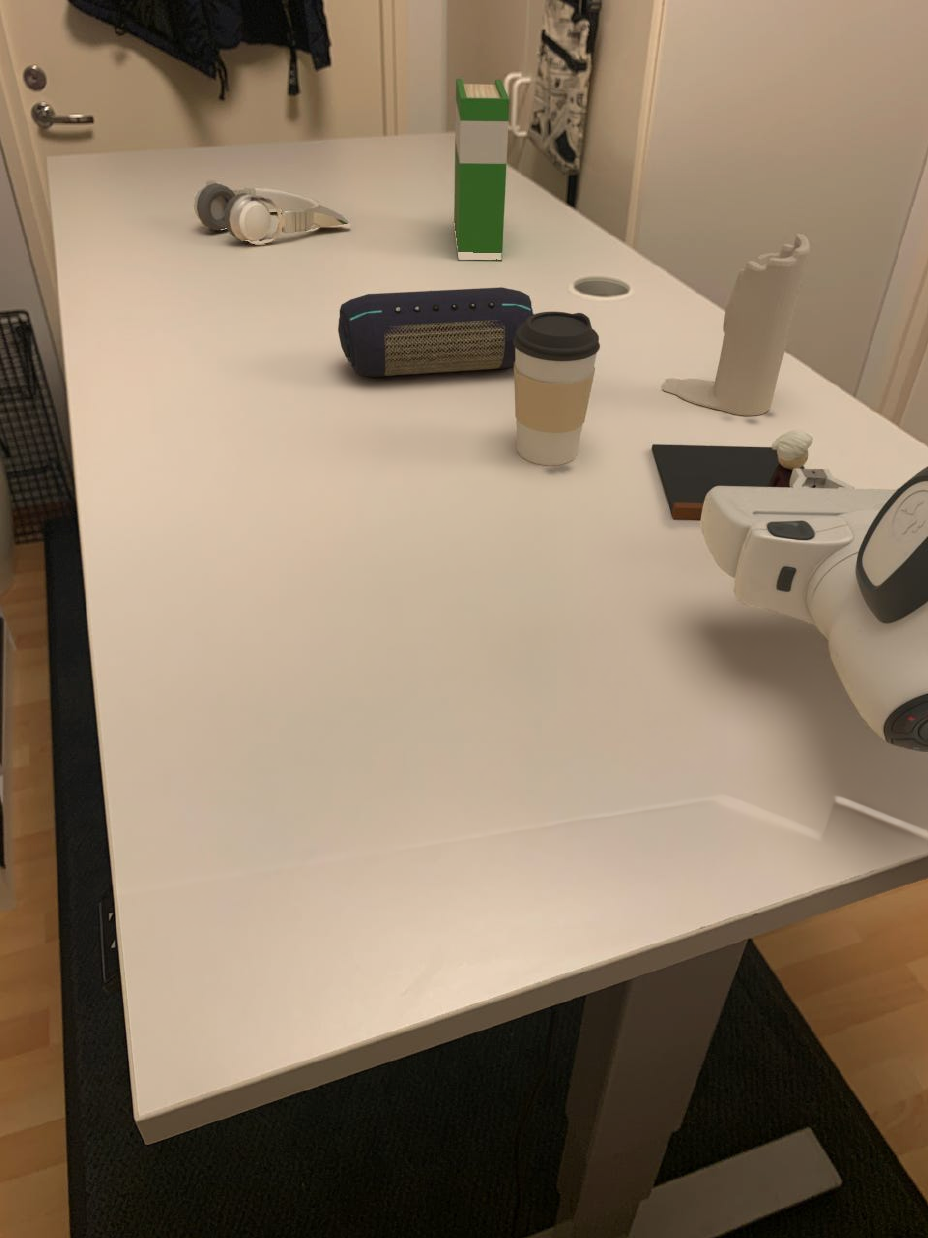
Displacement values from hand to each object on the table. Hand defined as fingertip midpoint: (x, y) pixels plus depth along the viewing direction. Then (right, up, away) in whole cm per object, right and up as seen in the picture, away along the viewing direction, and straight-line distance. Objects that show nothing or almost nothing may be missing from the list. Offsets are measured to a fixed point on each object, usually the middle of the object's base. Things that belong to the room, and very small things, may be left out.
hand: (807, 475), depth 78 cm
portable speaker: (-33, +20, +41) cm, 57 cm away
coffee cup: (-20, +7, +25) cm, 33 cm away
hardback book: (-27, +54, +83) cm, 102 cm away
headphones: (-65, +58, +87) cm, 123 cm away
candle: (+2, +16, +37) cm, 40 cm away
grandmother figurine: (0, -6, +11) cm, 12 cm away
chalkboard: (0, +3, +21) cm, 21 cm away
